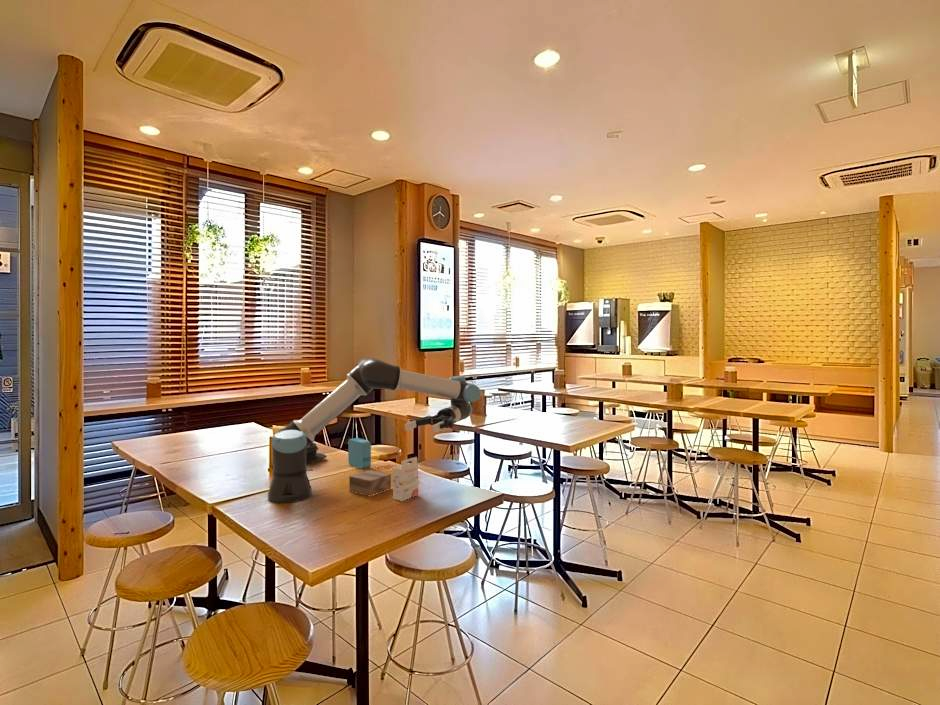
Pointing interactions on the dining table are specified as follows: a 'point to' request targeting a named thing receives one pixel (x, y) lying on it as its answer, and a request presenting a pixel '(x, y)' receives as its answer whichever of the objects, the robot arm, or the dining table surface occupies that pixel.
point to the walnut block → (370, 482)
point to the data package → (359, 453)
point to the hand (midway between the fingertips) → (419, 428)
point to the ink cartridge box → (405, 480)
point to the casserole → (313, 454)
